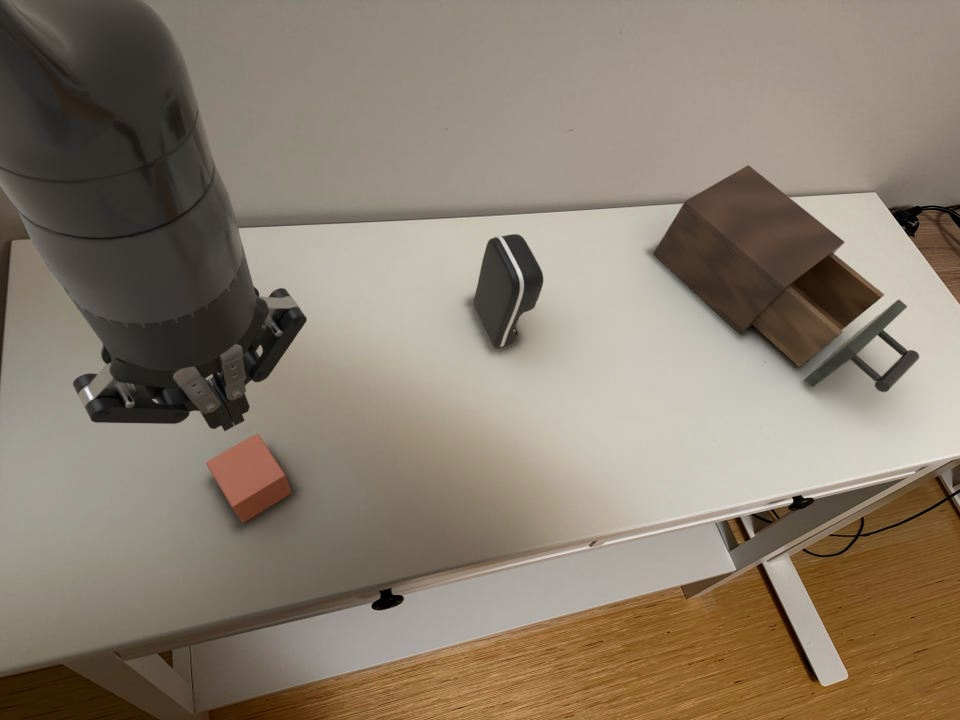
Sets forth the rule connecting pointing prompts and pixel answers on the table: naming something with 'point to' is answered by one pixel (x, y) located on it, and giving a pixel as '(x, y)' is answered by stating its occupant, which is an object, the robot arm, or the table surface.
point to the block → (249, 477)
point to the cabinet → (743, 245)
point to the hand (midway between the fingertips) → (228, 415)
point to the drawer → (832, 321)
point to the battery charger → (506, 286)
